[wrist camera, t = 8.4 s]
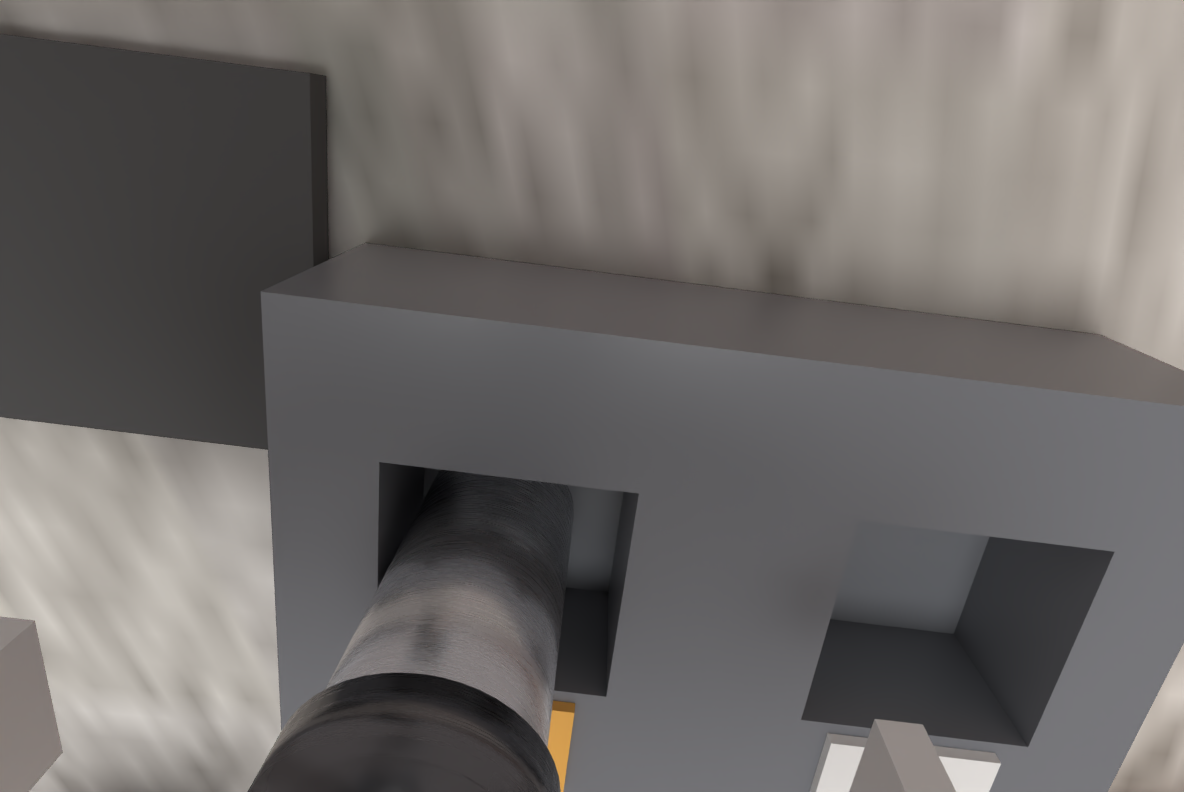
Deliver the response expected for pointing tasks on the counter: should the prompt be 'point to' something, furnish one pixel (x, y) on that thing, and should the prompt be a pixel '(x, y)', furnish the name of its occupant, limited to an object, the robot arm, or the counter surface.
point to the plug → (446, 655)
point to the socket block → (748, 513)
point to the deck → (150, 234)
